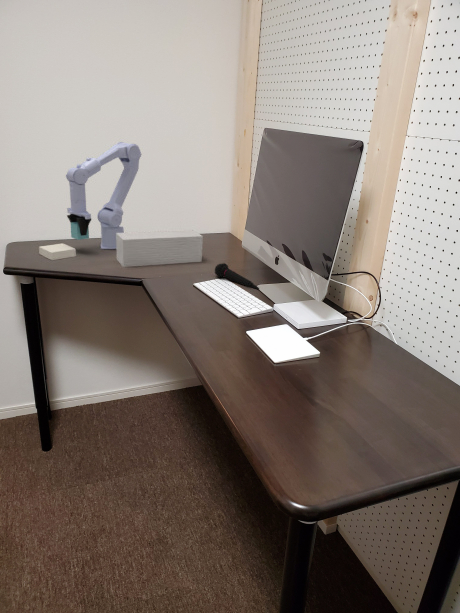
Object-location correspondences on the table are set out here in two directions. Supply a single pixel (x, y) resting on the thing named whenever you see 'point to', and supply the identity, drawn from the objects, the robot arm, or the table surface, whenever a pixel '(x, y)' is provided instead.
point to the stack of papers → (158, 247)
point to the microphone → (232, 275)
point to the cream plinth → (57, 251)
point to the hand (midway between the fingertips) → (80, 233)
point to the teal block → (78, 231)
